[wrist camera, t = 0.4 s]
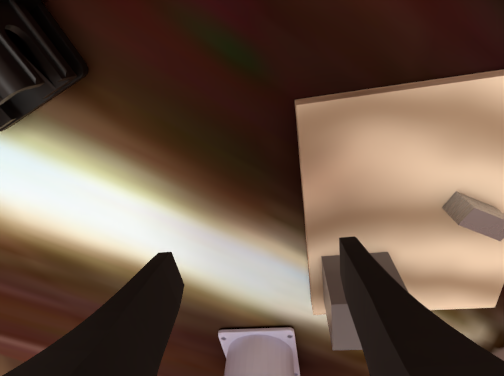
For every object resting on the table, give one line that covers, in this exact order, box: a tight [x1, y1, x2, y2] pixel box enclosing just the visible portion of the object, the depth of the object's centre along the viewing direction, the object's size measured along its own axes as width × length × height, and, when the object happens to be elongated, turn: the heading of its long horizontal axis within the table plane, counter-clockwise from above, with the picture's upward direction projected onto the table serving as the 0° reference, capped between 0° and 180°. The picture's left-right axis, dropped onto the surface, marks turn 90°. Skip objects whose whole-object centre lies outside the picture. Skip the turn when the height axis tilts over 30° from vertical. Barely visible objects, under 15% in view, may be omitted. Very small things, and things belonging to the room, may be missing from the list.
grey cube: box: [321, 252, 408, 350], centre depth 21 cm, size 5×5×5 cm
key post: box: [442, 191, 504, 241], centre depth 18 cm, size 3×1×2 cm, turn 69°
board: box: [295, 69, 504, 315], centre depth 21 cm, size 19×15×2 cm
